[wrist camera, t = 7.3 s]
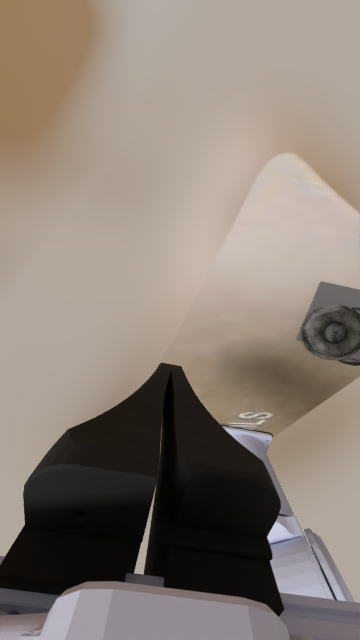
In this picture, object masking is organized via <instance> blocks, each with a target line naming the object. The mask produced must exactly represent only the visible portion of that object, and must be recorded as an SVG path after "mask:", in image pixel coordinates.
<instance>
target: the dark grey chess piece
mask: <svg viewBox="0 0 360 640" xmlns="http://www.w3.org/2000/svg"><path fill="white" fill-rule="evenodd" d="M302 338H303V341H304V344H305V345H306V347H307V348H308V350H309V351H311V352H312V353H313V354H314V355H316V356H318V357H320V358H323V359H327V360H337V361H339V362H341V363H344V364H348V365H354V366H360V307H352V308H350V307H348V306H344V305H339V304H332V305H326V306H322V307H320V308H318V309H316V310H314V311H313V312H312V313H311V314H310V315H309V316H308V317H307V318H306V320H305V322H304V324H303V328H302Z"/></svg>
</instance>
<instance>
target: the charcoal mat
mask: <svg viewBox="0 0 360 640" xmlns="http://www.w3.org/2000/svg"><path fill="white" fill-rule="evenodd" d="M332 304H339V305H344V306H348V307H350V308H352V307H360V290H358V289H353V288H349V287H344V286H339V285H335V284H330V283H326V282H320V284H319V287H318V289H317V292H316V294H315V296H314V299H313V301H312V304H311V306H310V308H309V311H308V313H307V315H306V318H307V317H308V316H309V315H310V314H311V313H312V312H313V311H314V310H316V309H318V308H320V307H322V306H326V305H332ZM306 318H305V320H306ZM305 320H304V322H305ZM303 324H304V323H303ZM302 328H303V325H302V327H301V330H300V332H299V335H298V337H297V340H300V341H303V338H302Z"/></svg>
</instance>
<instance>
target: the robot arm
mask: <svg viewBox="0 0 360 640" xmlns="http://www.w3.org/2000/svg"><path fill="white" fill-rule="evenodd" d="M162 415H163V416H162ZM161 427H162V437H161ZM271 440H272V436H271V434H267V433H261V432H256V431H250V430H244V429H238V428H232V427H226V426H221V425H220V424H219V423H218V422H217V421H216V420H215V419H214V418H213V417H212V415H211V414H210V413H209V412H208V411H207V409H206V408H205V407H204V406H203V404H202V403H201V402H200V400H199V399H198V397H197V396H196V394H195V393H194V391H193V389H192V387H191V386H190V384H189V382H188V380H187V378H186V376H185V374H184V371H183V369H182V367H181V366H176V365H171V364H166V363H160V364H159V366H158V368H157V369H156V371H155V372H154V373H153V375H152V376H151V377H150V378H149V379H148V380H147V381H146V382H145V383H144V384H143V385H142V386H141V387H140V388H139V389H138V390H137V391H136V392H134V393H133V394H132V395H131V396H129V397H128V398H127V399H125V400H124V401H122V402H121V403H119V404H118V405H116V406H115V407H113V408H112V409H110V410H108V411H106V412H105V413H103V414H101V415H99V416H97V417H96V418H93V419H91V420H89V421H86V422H84V423H82V424H80V425H77V426H75V427H72V428H70V429H68V430H67V431H66V432H65V433H64V434H63V435H62V436H61V438H60V439H59V440H58V441H57V442H56V443H55V444H54V445H53V447H52V448H51V449H50V450H49V451H48V453H47V454H46V455H45V456H44V458H43V459H42V461H41V462H40V463H39V465H38V466H37V467H36V469H35V470H34V471H33V473H32V474H31V475H30V477H29V478H28V480H27V482H26V483H25V485H24V492H23V498H24V514H25V525H24V527H23V529H22V530H21V532H20V534H19V535H18V537H17V539H16V540H15V542H14V543H13V545H12V546H11V548H10V550H9V551H8V553H7V555H6V556H5V557H4V556H0V640H360V603H357V602H355V601H354V599H353V597H352V596H351V594H350V592H349V590H348V588H347V586H346V584H345V582H344V580H343V578H342V576H341V574H340V572H339V570H338V568H337V567H336V565H335V563H334V561H333V559H332V557H331V555H330V554H329V552H328V550H327V548H326V546H325V545H324V543H323V541H322V539H321V538H320V537H319V536H318V535H316V534H315V533H313V532H312V530H311V529H304V531H305V533H306V535H307V538H308V540H309V542H310V544H311V548H312V550H313V552H314V554H315V557H316V559H317V561H318V563H319V565H320V567H319V565H318V563H317V561H316V559H315V557H314V554H313V552H312V550H311V548H310V546H309V544H308V542H307V540H306V537H305V535H304V533H303V531H302V529H301V527H300V525H299V522H298V520H297V518H296V516H294V514H293V512H292V509H291V507H290V505H289V503H288V501H287V499H286V496H285V494H284V492H283V490H282V488H281V486H280V483H279V481H278V479H277V477H276V475H275V473H274V471H273V468H272V466H271V464H270V462H269V459H268V457H267V455H266V452H267V450H268V447H269V445H270V443H271ZM160 441H161V452H160ZM159 459H160V461H159ZM155 487H156V491H155V499H154V506H153V513H152V520H151V527H150V534H149V541H148V549H147V555H146V562H145V569H144V575H141V574H134V570H135V566H136V562H137V558H138V553H139V549H140V545H141V542H142V540H143V536H144V532H145V528H146V524H147V519H148V515H149V511H150V507H151V503H152V499H153V495H154V490H155Z"/></svg>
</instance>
